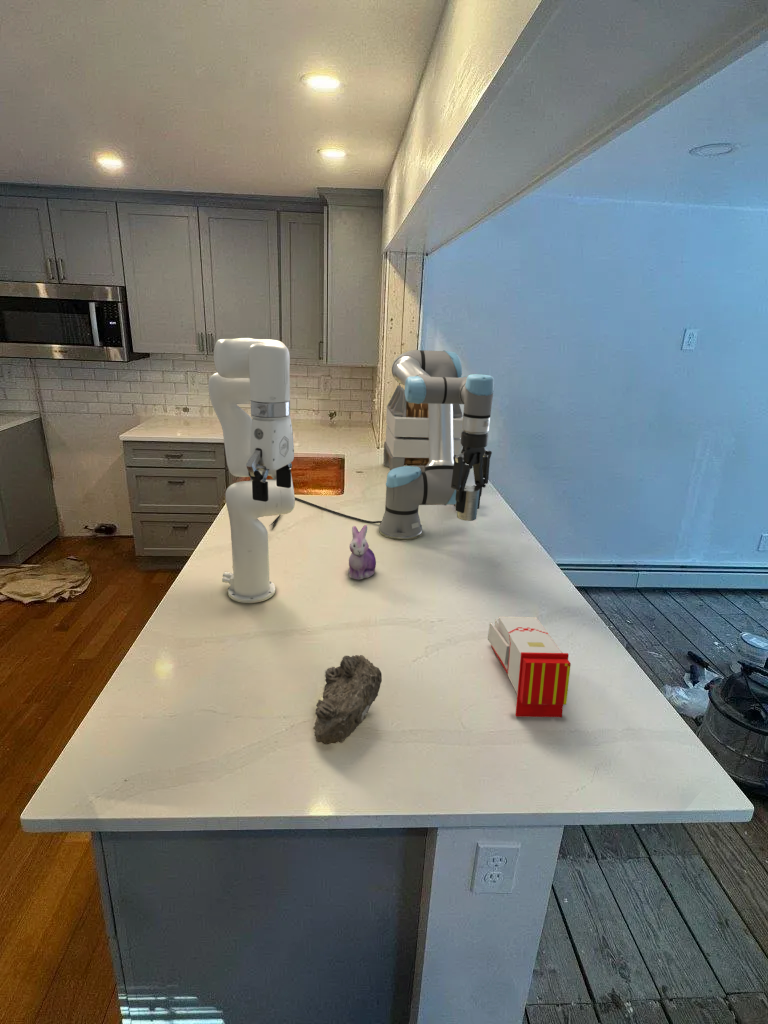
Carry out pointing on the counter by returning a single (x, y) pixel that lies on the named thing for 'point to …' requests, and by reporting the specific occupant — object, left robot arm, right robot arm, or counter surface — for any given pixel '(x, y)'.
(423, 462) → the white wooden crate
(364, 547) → the figurine
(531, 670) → the toy
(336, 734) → the fossil
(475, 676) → the counter surface
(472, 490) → the can
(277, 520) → the feather
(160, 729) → the counter surface
